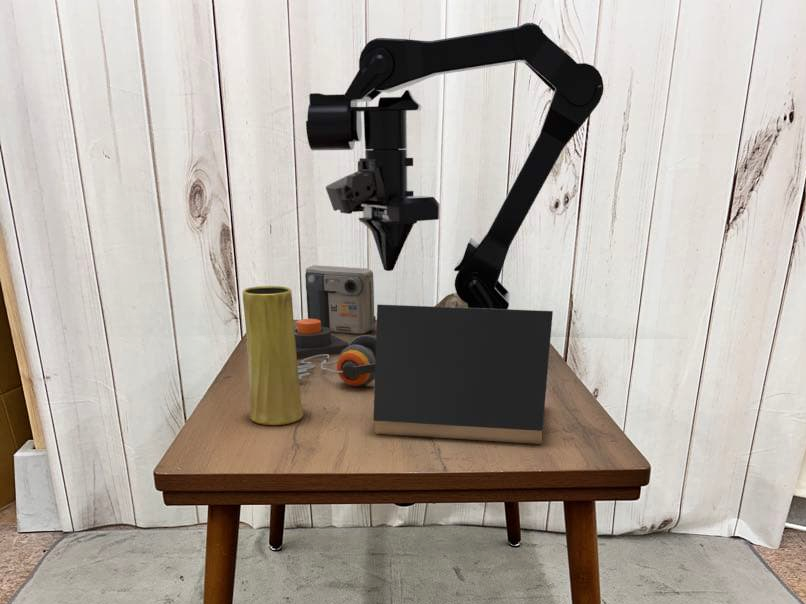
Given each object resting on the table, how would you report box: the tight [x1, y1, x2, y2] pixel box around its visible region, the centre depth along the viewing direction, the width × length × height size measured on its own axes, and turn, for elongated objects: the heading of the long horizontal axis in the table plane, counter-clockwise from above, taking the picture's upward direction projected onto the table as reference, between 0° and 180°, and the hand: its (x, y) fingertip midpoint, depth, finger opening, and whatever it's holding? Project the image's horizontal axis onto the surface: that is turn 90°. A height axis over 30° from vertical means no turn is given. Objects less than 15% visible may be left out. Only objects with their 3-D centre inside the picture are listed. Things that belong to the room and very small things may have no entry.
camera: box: [304, 264, 377, 335], centre depth 128 cm, size 11×6×10 cm, turn 67°
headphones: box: [297, 334, 376, 387], centre depth 103 cm, size 17×5×20 cm
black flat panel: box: [372, 304, 554, 432], centre depth 81 cm, size 12×18×1 cm
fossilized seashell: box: [433, 292, 468, 308], centre depth 129 cm, size 8×7×10 cm
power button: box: [295, 318, 321, 334], centre depth 116 cm, size 4×4×2 cm
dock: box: [294, 326, 350, 360], centre depth 117 cm, size 10×8×3 cm
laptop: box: [374, 421, 543, 445], centre depth 89 cm, size 12×18×2 cm, turn 80°
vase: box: [242, 285, 304, 426], centre depth 87 cm, size 6×6×14 cm
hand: (388, 270), depth 113 cm, fingers closed
